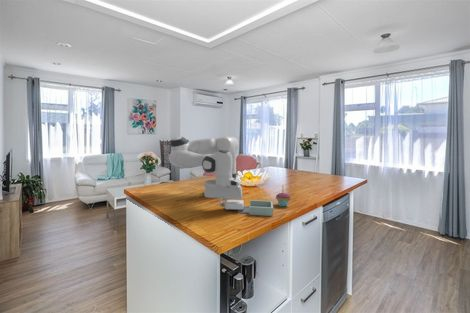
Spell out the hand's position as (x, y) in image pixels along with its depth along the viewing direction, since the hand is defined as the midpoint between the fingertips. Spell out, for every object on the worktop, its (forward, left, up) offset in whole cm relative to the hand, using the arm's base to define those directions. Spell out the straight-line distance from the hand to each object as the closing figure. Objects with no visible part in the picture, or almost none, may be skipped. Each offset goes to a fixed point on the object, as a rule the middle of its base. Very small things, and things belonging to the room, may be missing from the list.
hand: (222, 206), depth 128 cm
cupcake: (+33, +14, -2) cm, 36 cm away
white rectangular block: (+7, 0, -1) cm, 7 cm away
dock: (+17, 0, -3) cm, 18 cm away
